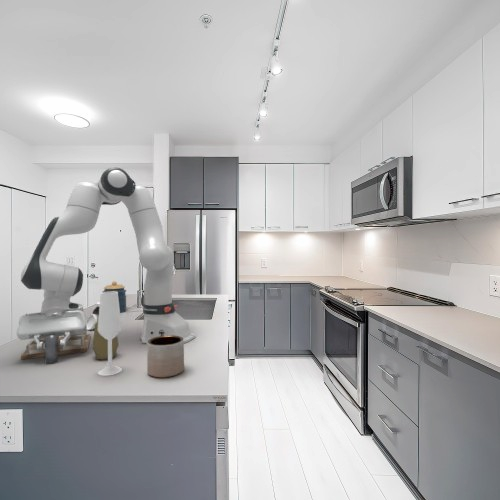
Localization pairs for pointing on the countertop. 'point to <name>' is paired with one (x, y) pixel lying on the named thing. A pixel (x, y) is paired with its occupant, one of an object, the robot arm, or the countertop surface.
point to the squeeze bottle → (103, 345)
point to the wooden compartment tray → (72, 346)
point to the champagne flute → (109, 326)
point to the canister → (121, 294)
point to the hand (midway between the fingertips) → (51, 347)
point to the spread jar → (93, 318)
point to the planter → (165, 356)
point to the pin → (51, 348)
